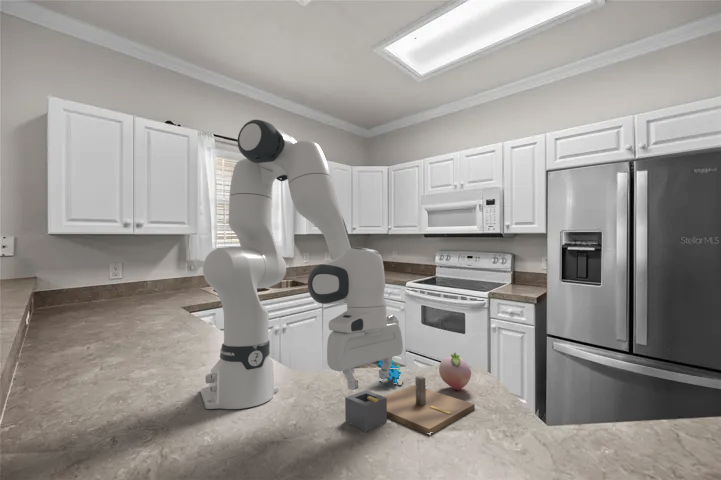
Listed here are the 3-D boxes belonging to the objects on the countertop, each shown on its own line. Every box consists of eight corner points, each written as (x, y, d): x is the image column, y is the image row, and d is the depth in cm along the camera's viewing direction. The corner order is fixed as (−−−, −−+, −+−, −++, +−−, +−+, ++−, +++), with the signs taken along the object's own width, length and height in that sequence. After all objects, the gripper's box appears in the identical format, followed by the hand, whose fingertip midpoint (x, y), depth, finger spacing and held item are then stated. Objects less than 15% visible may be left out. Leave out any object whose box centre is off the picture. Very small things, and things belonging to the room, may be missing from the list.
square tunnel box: (345, 421, 70) (345, 395, 70) (366, 412, 74) (366, 388, 75) (365, 431, 65) (365, 403, 66) (387, 421, 69) (386, 395, 70)
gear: (395, 385, 88) (374, 354, 93) (381, 398, 89) (361, 367, 94) (411, 379, 97) (392, 352, 102) (398, 392, 98) (379, 364, 103)
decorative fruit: (437, 383, 93) (436, 348, 94) (466, 384, 93) (464, 349, 94) (442, 396, 84) (441, 356, 85) (474, 396, 83) (473, 357, 84)
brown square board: (366, 408, 77) (366, 376, 77) (413, 389, 89) (413, 362, 90) (429, 435, 63) (428, 397, 64) (474, 409, 76) (473, 377, 76)
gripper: (388, 313, 81) (390, 370, 79) (322, 323, 67) (323, 392, 66) (407, 314, 77) (410, 375, 75) (341, 325, 63) (342, 399, 61)
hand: (369, 383), depth 70 cm, fingers open, 8 cm apart
